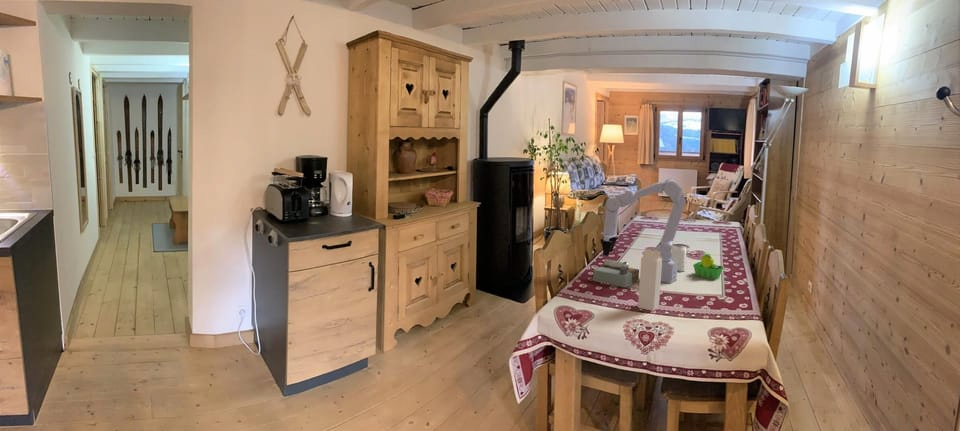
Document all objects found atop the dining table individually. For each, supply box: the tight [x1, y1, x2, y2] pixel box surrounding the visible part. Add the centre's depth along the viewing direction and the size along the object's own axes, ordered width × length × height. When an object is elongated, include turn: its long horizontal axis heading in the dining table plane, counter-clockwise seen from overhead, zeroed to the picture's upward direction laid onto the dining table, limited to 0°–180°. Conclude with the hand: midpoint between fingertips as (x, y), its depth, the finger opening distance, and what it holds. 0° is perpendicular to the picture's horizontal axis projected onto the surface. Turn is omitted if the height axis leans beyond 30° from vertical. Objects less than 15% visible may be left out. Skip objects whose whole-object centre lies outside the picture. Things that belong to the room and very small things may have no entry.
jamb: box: [600, 264, 640, 285], centre depth 244 cm, size 15×6×5 cm, turn 51°
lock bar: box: [603, 258, 630, 268], centre depth 244 cm, size 11×3×3 cm, turn 51°
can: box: [671, 243, 687, 273], centre depth 259 cm, size 6×6×12 cm
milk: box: [637, 249, 662, 312], centre depth 207 cm, size 6×6×22 cm
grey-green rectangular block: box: [592, 266, 633, 288], centre depth 239 cm, size 15×6×7 cm, turn 51°
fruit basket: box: [692, 253, 725, 280], centre depth 249 cm, size 11×9×11 cm
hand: (607, 253), depth 249 cm, fingers open, 7 cm apart
